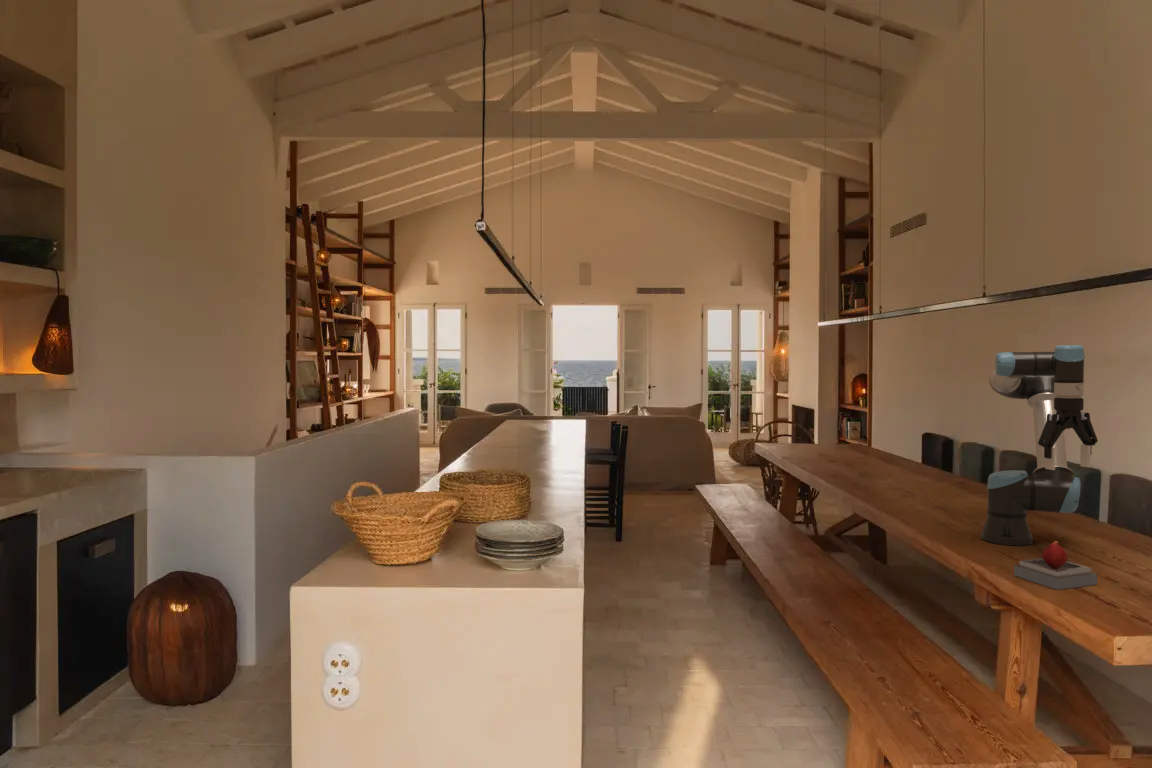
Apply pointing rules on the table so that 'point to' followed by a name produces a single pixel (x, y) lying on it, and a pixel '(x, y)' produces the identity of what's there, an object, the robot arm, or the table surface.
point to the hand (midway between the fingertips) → (1067, 468)
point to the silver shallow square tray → (1055, 574)
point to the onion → (1054, 555)
